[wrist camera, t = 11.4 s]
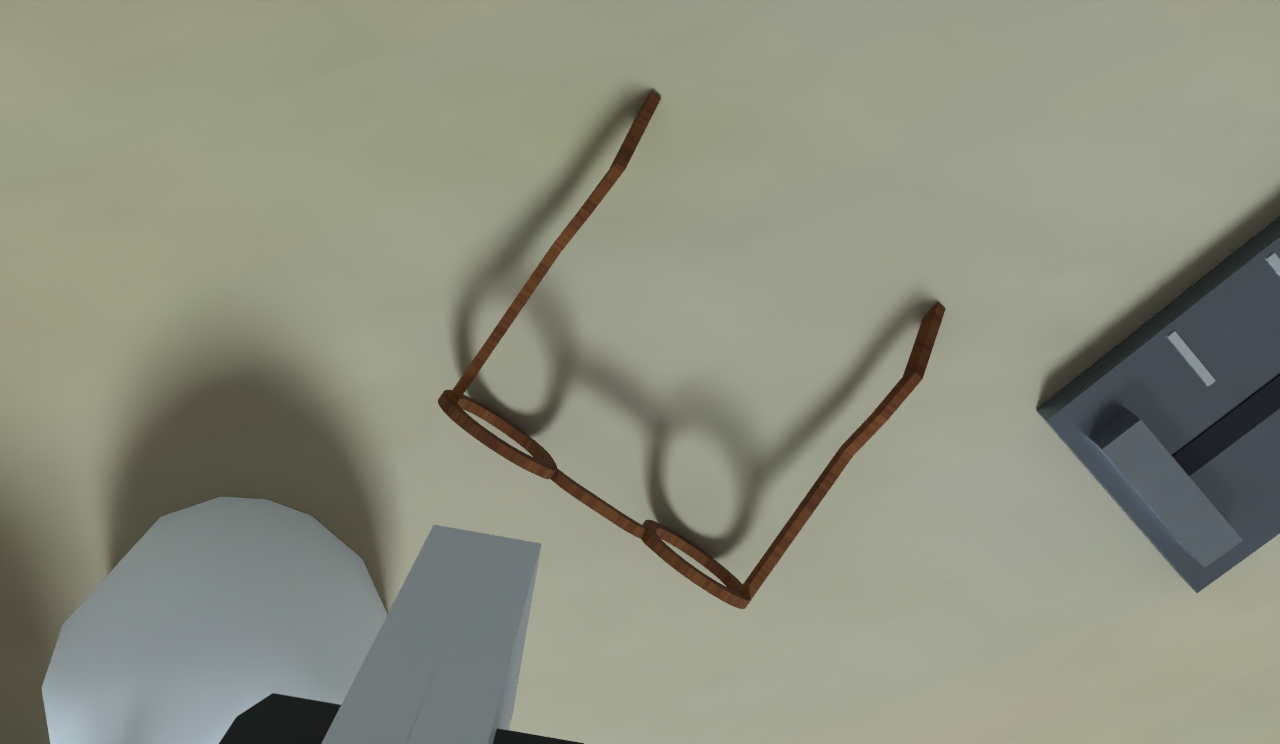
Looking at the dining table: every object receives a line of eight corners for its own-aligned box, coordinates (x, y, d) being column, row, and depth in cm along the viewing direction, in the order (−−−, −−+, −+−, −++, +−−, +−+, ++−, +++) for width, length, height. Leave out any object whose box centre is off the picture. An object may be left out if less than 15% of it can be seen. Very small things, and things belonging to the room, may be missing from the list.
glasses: (446, 387, 40) (416, 431, 36) (650, 90, 37) (647, 93, 32) (732, 577, 42) (740, 643, 37) (950, 308, 39) (989, 343, 34)
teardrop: (228, 792, 45) (77, 1043, 33) (52, 585, 43) (-176, 779, 31) (446, 666, 43) (364, 886, 32) (274, 443, 41) (119, 593, 29)
